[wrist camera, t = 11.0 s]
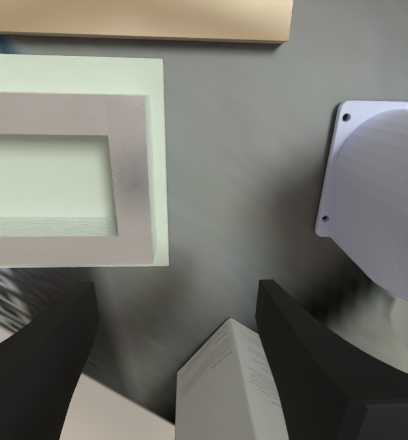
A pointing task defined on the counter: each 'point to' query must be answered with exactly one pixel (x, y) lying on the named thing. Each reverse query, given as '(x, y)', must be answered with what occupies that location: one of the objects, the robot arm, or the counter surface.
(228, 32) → the hook board
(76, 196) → the mat
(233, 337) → the skincare box
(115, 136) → the c link
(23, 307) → the counter surface
